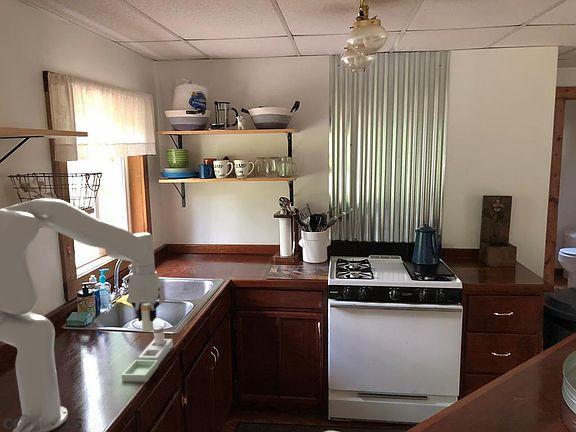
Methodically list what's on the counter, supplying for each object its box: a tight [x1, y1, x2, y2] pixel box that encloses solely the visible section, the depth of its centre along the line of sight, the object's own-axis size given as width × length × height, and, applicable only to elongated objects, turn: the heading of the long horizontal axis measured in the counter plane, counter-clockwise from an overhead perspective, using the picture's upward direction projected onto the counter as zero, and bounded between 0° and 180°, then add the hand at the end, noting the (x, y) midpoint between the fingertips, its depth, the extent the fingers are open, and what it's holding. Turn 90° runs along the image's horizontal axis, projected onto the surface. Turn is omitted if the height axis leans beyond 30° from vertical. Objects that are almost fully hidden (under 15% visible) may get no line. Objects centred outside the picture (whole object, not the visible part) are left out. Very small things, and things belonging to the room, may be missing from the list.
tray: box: [121, 359, 159, 383], centre depth 155 cm, size 10×8×2 cm
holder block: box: [137, 338, 174, 366], centre depth 168 cm, size 15×7×3 cm, turn 174°
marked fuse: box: [141, 303, 154, 333], centre depth 162 cm, size 4×4×9 cm
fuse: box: [152, 325, 166, 346], centre depth 172 cm, size 4×4×9 cm
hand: (147, 319), depth 162 cm, fingers closed on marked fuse, 3 cm apart
